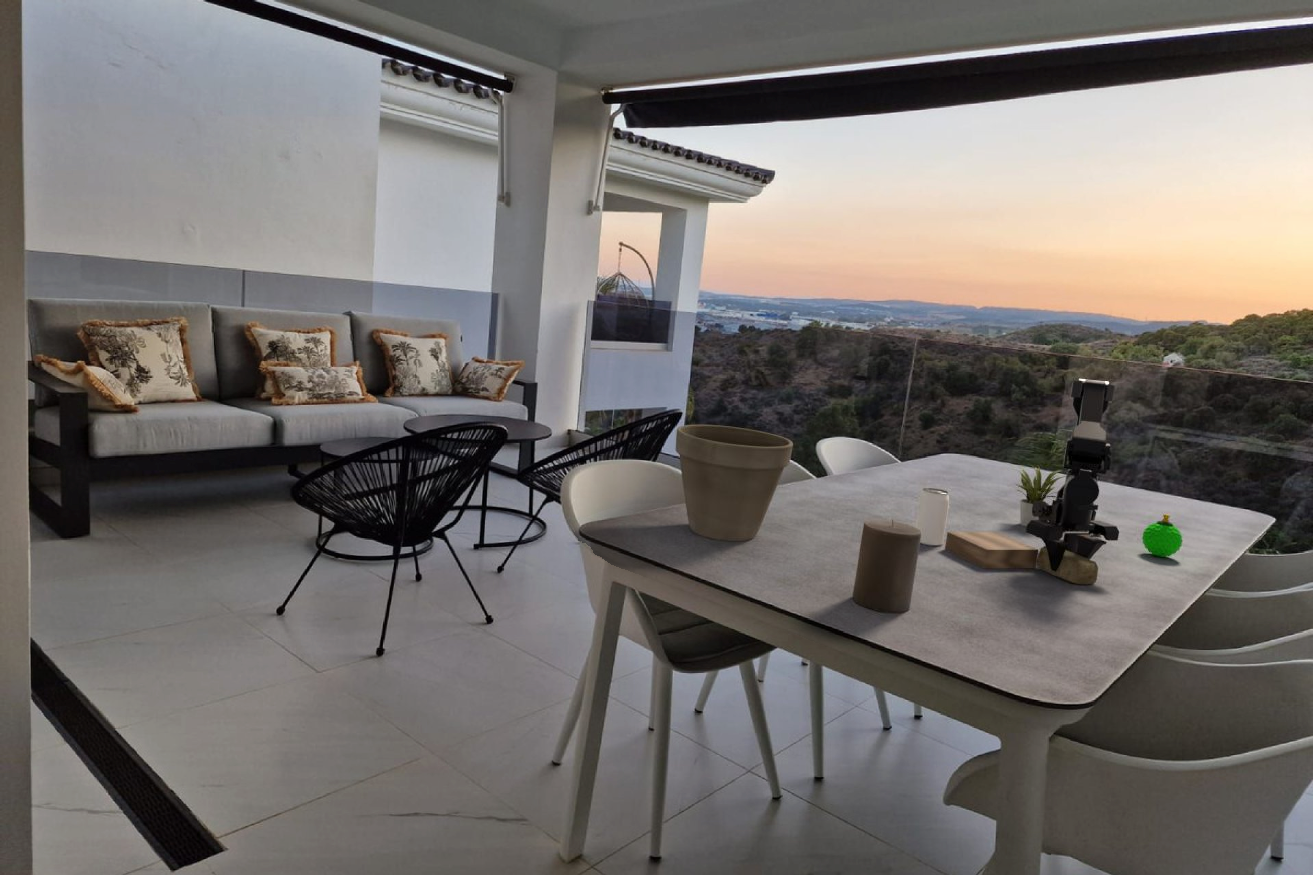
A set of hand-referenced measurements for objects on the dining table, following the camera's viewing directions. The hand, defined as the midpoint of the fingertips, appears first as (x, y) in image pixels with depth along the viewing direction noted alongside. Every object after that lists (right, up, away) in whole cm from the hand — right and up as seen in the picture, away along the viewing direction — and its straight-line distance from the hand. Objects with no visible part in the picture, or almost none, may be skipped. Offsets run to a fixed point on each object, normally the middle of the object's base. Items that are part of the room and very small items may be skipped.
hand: (1065, 570), depth 171 cm
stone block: (0, -2, 0) cm, 2 cm away
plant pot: (-69, +7, +10) cm, 70 cm away
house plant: (+14, +4, +44) cm, 47 cm away
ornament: (+34, -1, +25) cm, 42 cm away
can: (-23, +3, +18) cm, 29 cm away
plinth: (-12, +1, +9) cm, 15 cm away
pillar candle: (-45, -2, -27) cm, 52 cm away
